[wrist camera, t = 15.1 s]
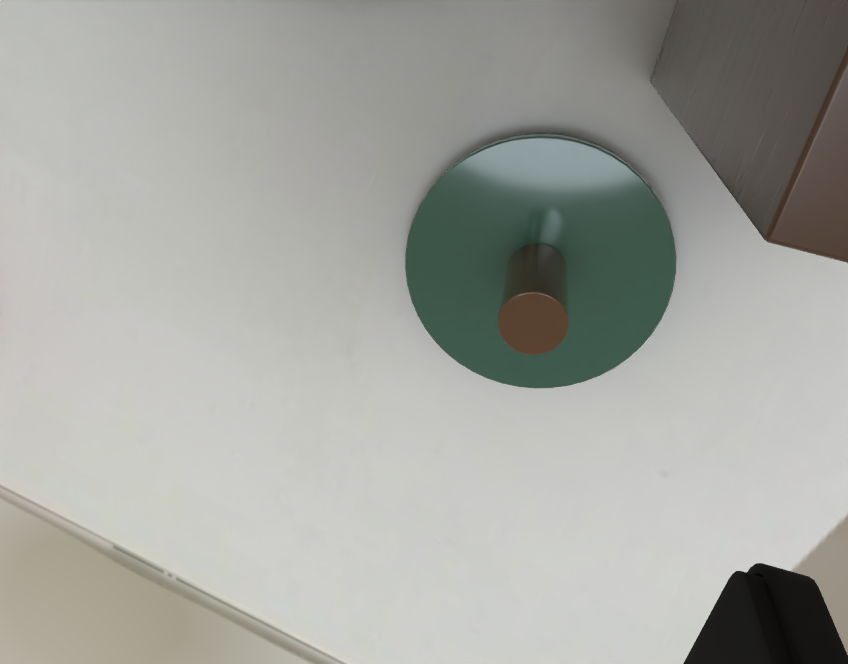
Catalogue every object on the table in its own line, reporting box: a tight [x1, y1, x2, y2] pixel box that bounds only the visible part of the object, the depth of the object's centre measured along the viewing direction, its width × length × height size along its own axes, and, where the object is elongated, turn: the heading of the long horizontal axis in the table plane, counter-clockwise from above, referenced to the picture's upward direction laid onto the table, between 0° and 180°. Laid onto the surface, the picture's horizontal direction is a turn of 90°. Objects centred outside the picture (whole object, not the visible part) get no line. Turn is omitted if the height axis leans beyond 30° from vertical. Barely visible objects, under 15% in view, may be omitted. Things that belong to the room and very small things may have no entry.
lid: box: [406, 133, 676, 388], centre depth 29 cm, size 11×11×6 cm
